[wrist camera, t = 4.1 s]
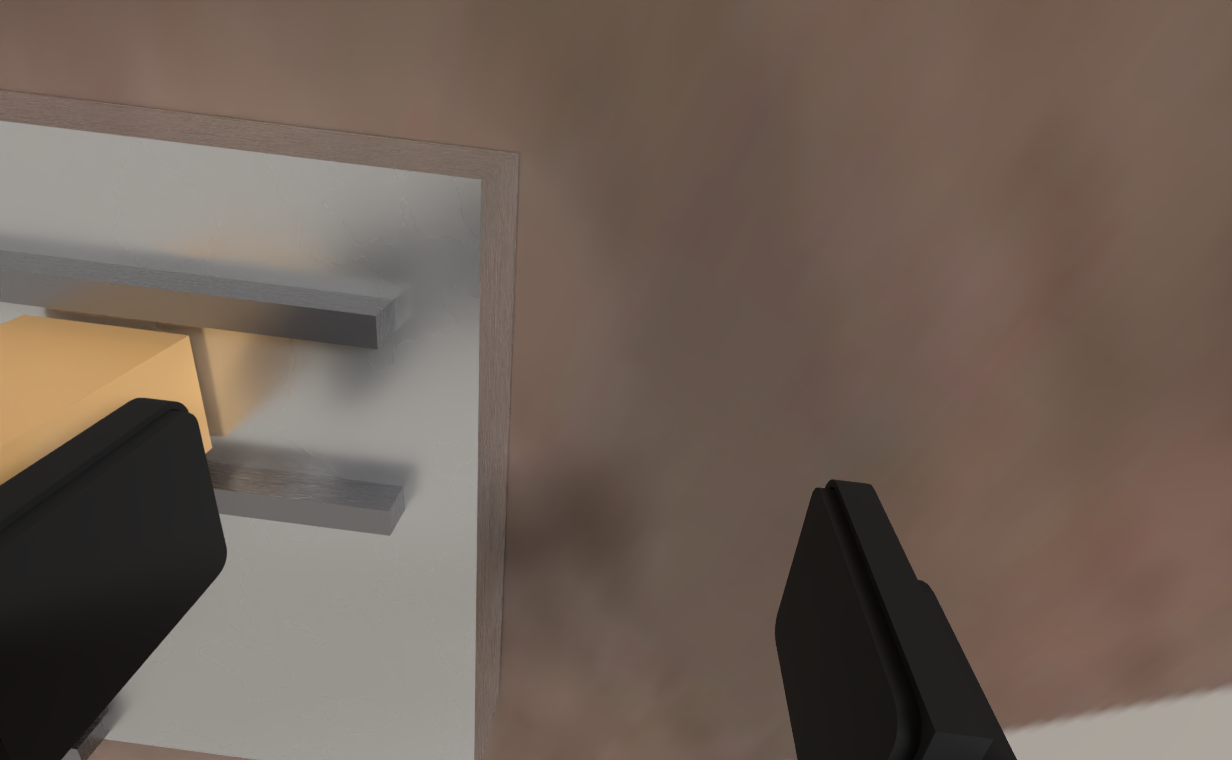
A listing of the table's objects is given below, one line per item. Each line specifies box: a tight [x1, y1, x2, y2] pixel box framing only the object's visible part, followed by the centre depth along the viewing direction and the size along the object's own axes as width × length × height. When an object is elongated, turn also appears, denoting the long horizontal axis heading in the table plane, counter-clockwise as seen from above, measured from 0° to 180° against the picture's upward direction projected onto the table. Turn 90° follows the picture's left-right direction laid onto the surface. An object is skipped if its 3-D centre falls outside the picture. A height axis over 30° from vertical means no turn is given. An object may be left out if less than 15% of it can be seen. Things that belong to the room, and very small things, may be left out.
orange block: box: [0, 315, 212, 485], centre depth 10 cm, size 2×3×4 cm
